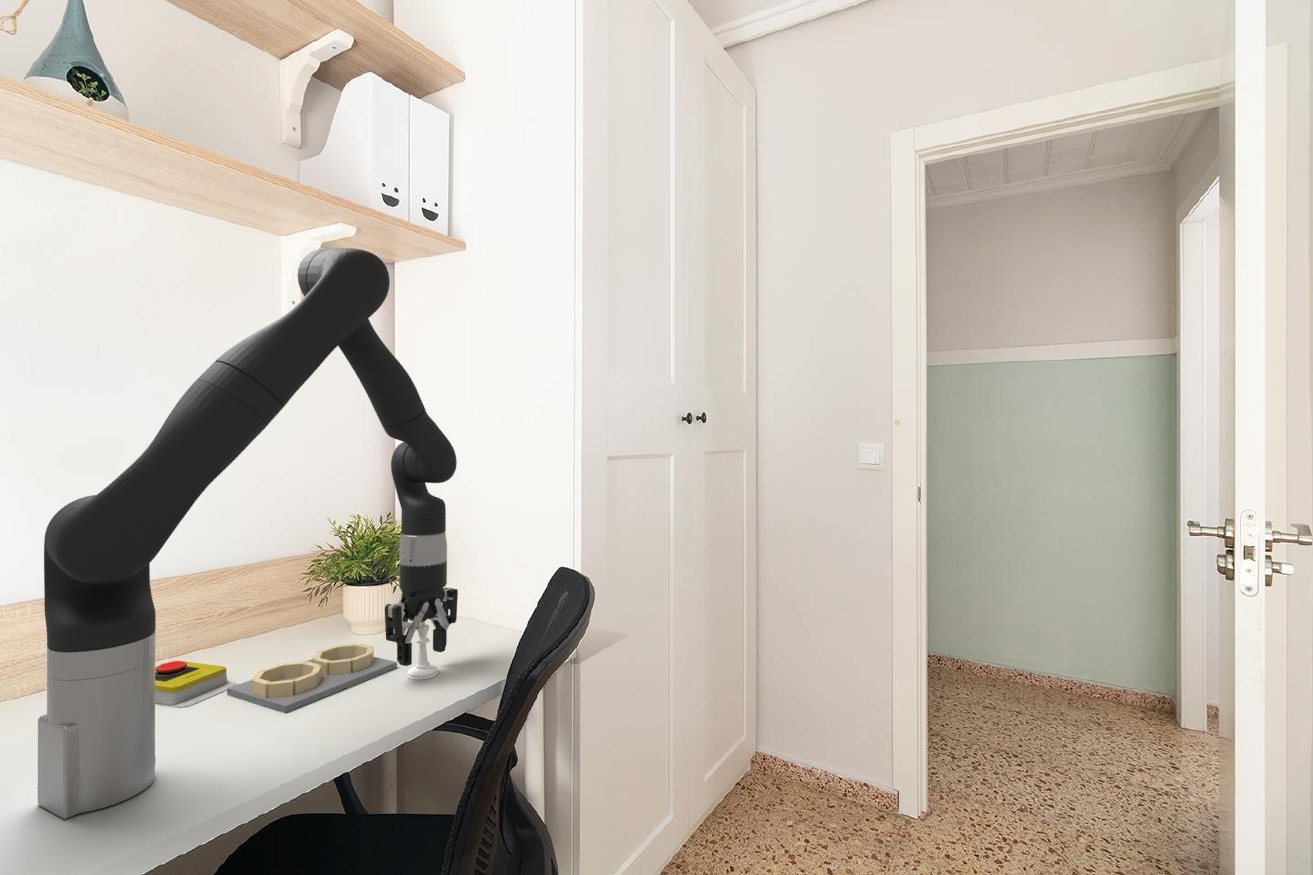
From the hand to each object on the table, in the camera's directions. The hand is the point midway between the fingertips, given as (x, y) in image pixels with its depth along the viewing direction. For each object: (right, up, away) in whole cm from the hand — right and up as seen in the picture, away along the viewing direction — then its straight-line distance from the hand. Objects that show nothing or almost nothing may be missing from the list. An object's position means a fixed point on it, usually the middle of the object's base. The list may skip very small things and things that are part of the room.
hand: (422, 657), depth 107 cm
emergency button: (-36, -3, -8) cm, 37 cm away
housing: (-16, -3, -3) cm, 17 cm away
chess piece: (0, -3, 0) cm, 3 cm away
